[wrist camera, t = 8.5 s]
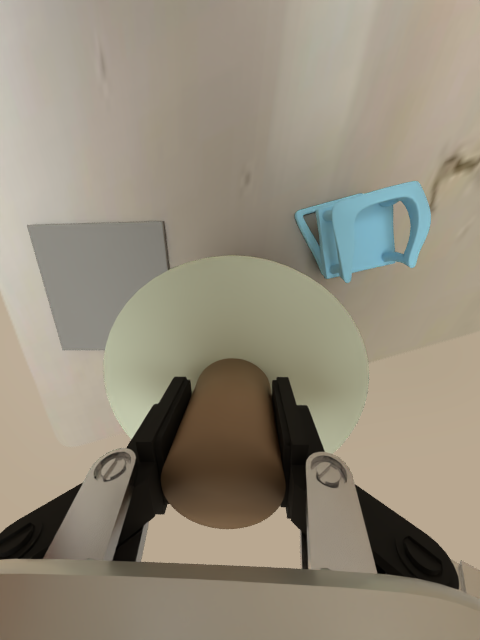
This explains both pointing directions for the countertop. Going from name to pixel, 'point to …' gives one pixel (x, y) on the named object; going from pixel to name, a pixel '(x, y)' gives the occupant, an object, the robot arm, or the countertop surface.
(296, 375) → the lid
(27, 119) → the countertop surface
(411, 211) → the chair
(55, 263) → the mat
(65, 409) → the countertop surface
